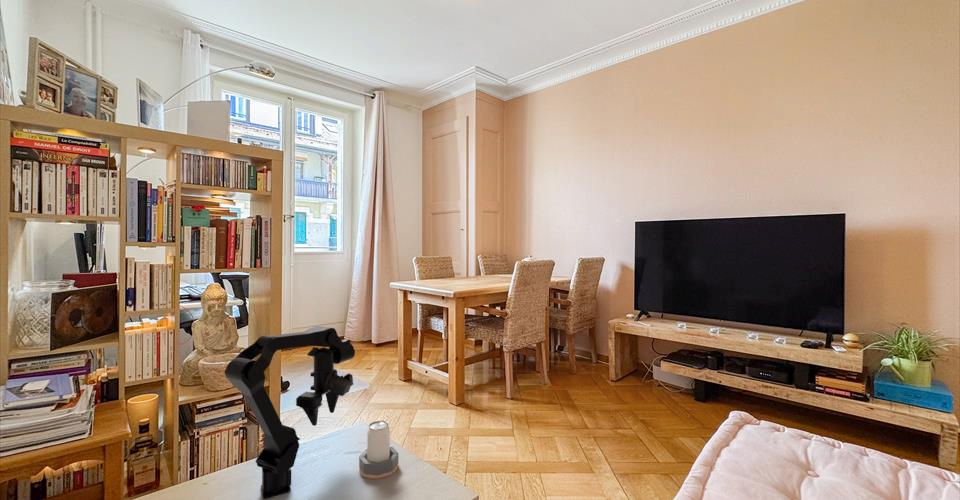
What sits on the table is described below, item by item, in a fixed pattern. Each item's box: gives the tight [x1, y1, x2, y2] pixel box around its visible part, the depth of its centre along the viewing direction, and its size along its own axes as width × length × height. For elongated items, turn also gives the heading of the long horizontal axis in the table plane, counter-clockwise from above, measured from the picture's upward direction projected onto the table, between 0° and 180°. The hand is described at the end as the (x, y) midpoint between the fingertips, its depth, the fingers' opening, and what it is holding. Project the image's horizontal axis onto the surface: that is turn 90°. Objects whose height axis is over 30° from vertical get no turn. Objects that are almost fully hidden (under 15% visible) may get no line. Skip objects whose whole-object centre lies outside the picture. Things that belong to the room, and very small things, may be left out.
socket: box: [358, 446, 399, 480], centre depth 119 cm, size 11×11×4 cm
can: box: [366, 420, 391, 463], centre depth 119 cm, size 6×6×12 cm
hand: (323, 418), depth 123 cm, fingers open, 9 cm apart
